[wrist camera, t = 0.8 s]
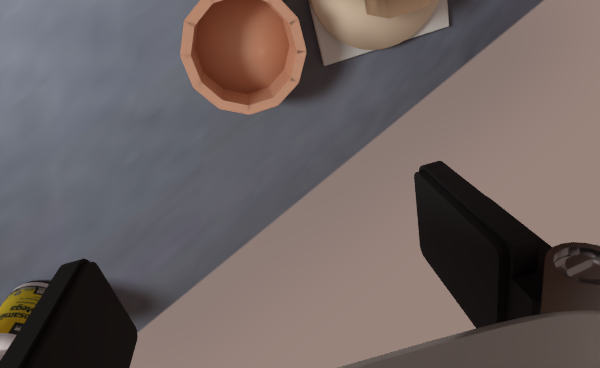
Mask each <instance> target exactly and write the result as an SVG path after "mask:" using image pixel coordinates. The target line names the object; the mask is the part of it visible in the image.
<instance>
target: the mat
mask: <svg viewBox="0 0 600 368" xmlns="http://www.w3.org/2000/svg"><path fill="white" fill-rule="evenodd" d="M308 2H309V7H310V11H311V15H312V19H313V24H314V28H315V32H316V37H317V41H318V45H319V49H320V54H321V58H322V62H323V65H324V66H326V65H330V64H333V63H336V62H339V61H342V60H345V59H348V58H351V57H355V56H358V55H361V54H364V53H367V52H370V51H373V50H364V49H358V48H355V47H352V46H349V45H347V44H345V43H343V42H341V41H339V40H338V39H336V38H335V37H333V36H332V35H331V34H330V33H329V32H328V31H327V30H326V29H325V28H324V27H323V25H322V24H321V23H320V21H319V20H318V18H317V16H316V15H315V13H314V10H313V8H312V6H311V3H310V0H308ZM448 26H449V18H448V3H447V0H439V2H438V4H437V6H436V8H435V9H434V11H433V13H432V14H431V16H430V17H429V19H428V20H427V21H426V22H425V23H424V25H423V26H422V27H421V28H420V29H419V30H418V31H417V32H415V33H414V34H413V35H412V36H410V37H409V38H408V39H411V38H414V37H417V36H420V35H423V34H426V33H429V32H433V31H436V30H439V29H442V28H445V27H448ZM408 39H406V40H408Z"/></svg>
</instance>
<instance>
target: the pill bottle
mask: <svg viewBox="0 0 600 368" xmlns="http://www.w3.org/2000/svg"><path fill="white" fill-rule="evenodd" d="M48 285H49V284H47V283H42V282H29V283H25V284H22V285H20V286H18V287H17V288H15V289H14V290H13V291H12V292H11V293H10V295H9V296H8V297H7V299H6V300H5V301H4V303H3V304H2V306H1V307H0V360H1V359H2V357H3V355H4V354H5V352H6V351H7V349H8V348H9V346H10V345H11V343H12V341H13V340H14V338H15V337H16V335H17V334H18V332H19V330H20V329H21V327H22V326H23V324H24V323H25V321H26V320H27V318H28V316H29V315H30V313H31V312H32V310H33V309H34V307H35V305H36V304H37V302H38V301H39V299H40V298H41V296H42V294H43V293H44V291H45V290H46V288H47V287H48Z"/></svg>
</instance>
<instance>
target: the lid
mask: <svg viewBox="0 0 600 368" xmlns="http://www.w3.org/2000/svg"><path fill="white" fill-rule="evenodd" d="M438 2H439V0H310V3H311V6H312V8H313V10H314V13H315V15H316V16H317V18H318V20H319V21H320V23H321V24H322V25H323V27H324V28H325V29H326V30H327V31H328V32H329V33H330V34H331V35H332V36H333V37H335V38H336V39H338V40H339V41H341V42H343V43H345V44H347V45H349V46H352V47H355V48H358V49H364V50H378V49H384V48H388V47H392V46H394V45H397V44H399V43H401V42H403V41H404V40H406V39H408V38H409V37H410V36H412V35H413V34H414V33H415V32H417V31H418V30H419V29H420V28H421V27H422V26H423V25H424V23H425V22H426V21H427V20H428V19H429V17H430V16H431V14H432V13H433V11H434V9H435V8H436V6H437V4H438Z"/></svg>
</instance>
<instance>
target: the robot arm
mask: <svg viewBox="0 0 600 368" xmlns="http://www.w3.org/2000/svg"><path fill="white" fill-rule="evenodd" d="M414 179H415V192H416V203H417V215H418V226H419V239H420V248H421V251H422V254H423V256H424V257H425V259H426V260H427V262H428V263H429V264H430V266H431V267H432V268H433V270H434V271H435V272H436V274H437V275H438V277H439V278H440V279H441V281H442V282H443V283H444V285H445V286H446V287H447V289H448V290H449V291H450V293H451V294H452V296H453V297H454V298H455V300H456V301H457V303H458V304H459V305H460V307H461V308H462V309H463V310H464V312H465V313H466V315H467V316H468V318H469V319H470V320H471V322H472V323H473V324H474V326H475V327H476V329H473V330H469V331H466V332H462V333H458V334H455V335H451V336H447V337H444V338H440V339H436V340H432V341H429V342H425V343H422V344H418V345H415V346H411V347H408V348H404V349H401V350H398V351H394V352H391V353H388V354H384V355H380V356H377V357H373V358H370V359H366V360H363V361H359V362H356V363H353V364H349V365H346V366H342V367H339V368H600V246H598V245H593V244H588V243H576V242H571V243H563V244H560V245H557V246H554V247H551V246H550V245H548V244H547V243H546V242H545V241H543V240H542V239H541V238H540V237H538V236H537V235H536V234H535V233H533V232H532V231H531V230H529V229H528V228H527V227H525V226H524V225H523V224H522V223H521V222H519V221H518V220H517V219H515V218H514V217H513V216H512V215H510V214H509V213H508V212H507V211H505V210H504V209H503V208H501V207H500V206H499V205H498V204H496V203H495V202H494V201H493V200H491V199H490V198H488V197H487V196H485V195H484V194H482V193H481V192H480V191H479V190H477V189H476V188H475V187H474V186H472V185H471V184H470V183H469V182H467V181H466V180H465V179H463V178H462V177H461V176H460V175H458V174H457V173H456V172H454V171H453V170H452V169H451V168H450V167H448V166H447V165H446V164H445V163H443V162H442V161H437V162H433V163H430V164H426V165H423V166H421V167H420V169H419V172H416V173H415V175H414ZM136 342H137V330H136V327H135V325H134V324H133V322H132V320H131V319H130V317H129V315H128V314H127V312H126V311H125V309H124V307H123V306H122V304H121V302H120V301H119V299H118V298H117V296H116V294H115V293H114V291H113V289H112V288H111V286H110V285H109V283H108V281H107V280H106V278H105V276H104V275H103V273H102V272H101V270H100V268H99V267H98V265H97V264H96V263H95V262H89V261H88V260H87V259H81V260H78V261H74V262H70V263H67V264H64V265H62V266H61V267H60V268H59V269H58V271H57V273H56V274H55V276H54V277H53V279H52V280H51V282H50V284H49V285H48V287H47V288H46V290H45V291H44V293H43V294H42V296H41V298H40V299H39V301H38V302H37V304H36V305H35V307H34V309H33V310H32V312H31V313H30V315H29V316H28V318H27V320H26V321H25V323H24V324H23V326H22V327H21V329H20V330H19V332H18V334H17V335H16V337H15V338H14V340H13V341H12V343H11V345H10V346H9V348H8V349H7V351H6V352H5V354H4V355H3V357H2V359H1V360H0V368H129V367H130V363H131V360H132V356H133V352H134V349H135V345H136Z"/></svg>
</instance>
